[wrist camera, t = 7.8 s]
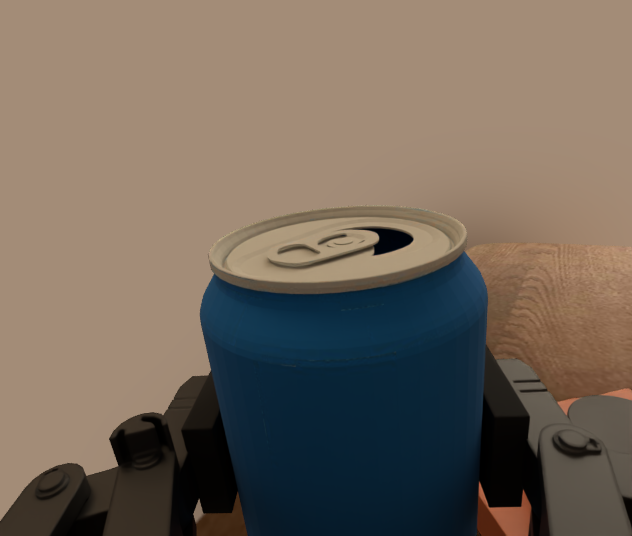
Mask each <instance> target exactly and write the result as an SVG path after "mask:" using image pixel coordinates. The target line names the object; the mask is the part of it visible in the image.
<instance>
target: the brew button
mask: <svg viewBox="0 0 632 536" xmlns="http://www.w3.org/2000/svg"><path fill="white" fill-rule="evenodd" d="M567 417H568V418H569V419H570V421H571V422H572V423H573V425H575V426H579V427H582V428H584V429H586V430H588V431H590V432H592V433H593V434H594V435H596V436H597V437H598V438H599V439H600V440H602V441H603V443H604V445H605V447H606V448H608V449H612V450H616V451H619V452H624V453H629V454H632V400H629V399H625V398H621V397H616V396H608V395H592V396H586V397H582V398H579V399H577V400H576V401H574V402H573V403H572V404H571V405H570V407H569V408H568V412H567Z"/></svg>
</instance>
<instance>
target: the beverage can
mask: <svg viewBox="0 0 632 536" xmlns="http://www.w3.org/2000/svg"><path fill="white" fill-rule="evenodd" d="M466 245H467V231H466V228H465V227H464V226H463V225H462V223H460V222H459V221H457V220H456V219H454V218H452V217H450V216H448V215H445V214H442V213H439V212H434V211H430V210H425V209H419V208H411V207H400V206H348V207H335V208H325V209H317V210H310V211H304V212H298V213H293V214H287V215H283V216H278V217H274V218H270V219H267V220H263V221H260V222H256V223H253V224H250V225H248V226H245V227H242V228H240V229H238V230H236V231H233V232H231V233H229V234H228V235H226V236H224V237H223V238H221V239H220V240H218V241H217V242H216V243H215V244H214V245H213V246H212V248H211V249H210V251H209V255H208V257H209V262H210V266H211V270H212V271H213V272H214V275H213V277H212V279H211V281H210V283H209V285H208V287H207V289H206V291H205V293H204V295H203V299H202V304H201V309H200V320H201V326H202V331H203V335H204V340H205V344H206V349H207V353H208V358H209V362H210V367H211V371H212V376H213V380H214V385H215V389H216V394H217V398H218V403H219V407H220V412H221V417H222V421H223V426H224V430H225V435H226V439H227V444H228V448H229V453H230V457H231V462H232V466H233V471H234V475H235V480H236V484H237V489H238V493H239V498H240V502H241V507H242V511H243V516H244V520H245V525H246V529H247V534H248V536H477V518H478V497H479V475H480V454H481V433H482V412H483V391H484V369H485V348H486V327H487V306H488V295H487V288H486V285H485V282H484V280H483V277H482V275H481V273H480V271H479V270H478V268H477V267H476V265H475V264H474V263H473V262H472V260H471V259H470V258H469V257H468V256H467V254H466V253H465V252H464V250H465V248H466Z"/></svg>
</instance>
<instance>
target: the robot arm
mask: <svg viewBox="0 0 632 536" xmlns="http://www.w3.org/2000/svg"><path fill="white" fill-rule="evenodd" d="M109 440H110V442H111V445H112V448H113V451H114V454H115V457H116V460H117V462H118V467H115V468H112V469H109V470H106V471H102V472H99V473H95V474H92V475H88V476H86V474H85V472H84V469H83V467H81V466H80V465H78V464H73V463H67V464H62V465H58V466H55V467H53V468H51V469H49V470H47V471H45V472H43V473H42V474H40V475H39V476H38V477H36V478H35V479H33V480H32V482H31V483H30V484H29V485H28V486H27V487H26V488H25V489H24V490H23V492H22V493H21V494H20V496H19V497H18V498H17V500H16V501H15V502H14V504H13V505H12V506H11V508H10V509H9V510H8V512H7V513H6V514H5V516H4V517H3V518H2V520H1V521H0V536H196V523H195V519H194V515H193V513H194V510H195V508H196V505H197V502H198V500H199V499H200V503H201V507H202V510H203V513H232V510H233V506H234V503H235V499H236V496H237V492H238V489H237V484H236V480H235V475H234V471H233V466H232V462H231V457H230V453H229V448H228V444H227V439H226V435H225V430H224V426H223V421H222V417H221V412H220V407H219V403H218V398H217V394H216V389H215V385H214V380H213V376H212V371H211V372H210V373H209V375H208V376H192V377H191V378H190V379H189V380H188V381H186V382H185V383H184V384H183V385H182V386H181V387H180V388H179V390H178V391H177V393H176V395H175V397H174V400H172V402H171V404H170V405H169V407H168V410H166V412H165V414H164V415H162V414H159V413H153V412H152V413H144V414H140V415H137V416H135V417H132V418H130V419H128V420H126V421H125V422H123V423H121V424H120V425H119V426H118V427H117V428H116V429H115V430H114V431H113V433H112V435H111V437H110V438H109ZM479 481H480V484H481V487H482V490H483V492H484V495H485V498H486V500H487V503H488V506H489V508H496V507H521V506H522V496H523V490H524V492H525V494H526V496H527V499H528V501H529V503H530V505H531V513H530V522H529V532H528V536H632V454H629V453H624V452H619V451H616V450H612V449H608V448H606V447H605V445H604V443H603V441H602V440H600V439H599V438H598V437H597V436H596V435H594V434H593V433H592V432H590V431H588V430H586V429H584V428H582V427H579V426H575V425H573V423H572V422H571V421H570V419H569V418H568V417H567V415H566V414H565V412H564V411H563V410H562V408H561V407H560V406H559V404H558V403H557V402H556V400H555V399H554V398H553V396H552V395H551V393H550V392H548V391H547V388H546V387H545V385H544V384H543V383H542V382H541V381H540V379H539V377H538V376H537V375H536V373H535V372H534V370H533V369H532V368H531V367H529V366H528V365H526V364H525V363H523V362H522V361H520V360H519V359H497V360H495V358H494V356H493V355H492V353H491V352H490V350H489V348H488V347H487V345H486V348H485V369H484V391H483V412H482V433H481V454H480V475H479Z"/></svg>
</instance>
